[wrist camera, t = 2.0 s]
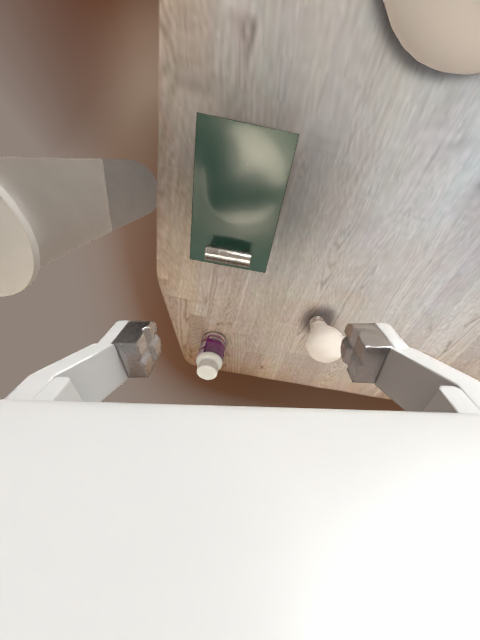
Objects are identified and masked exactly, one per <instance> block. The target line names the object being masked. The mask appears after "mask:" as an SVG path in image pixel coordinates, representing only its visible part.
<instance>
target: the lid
mask: <svg viewBox="0 0 480 640" xmlns="http://www.w3.org/2000/svg"><path fill="white" fill-rule="evenodd" d="M298 137H299V134H296V133H291V132H287V131H282V130H277V129H273V128H268V127H263V126H259V125H254V124H249V123H245V122H240V121H235V120H231V119H226V118H221V117H217V116H212V115H207V114H203V113H198V112H197V120H196V140H195V161H194V182H193V203H192V224H191V245H190V259H192V260H198V261H203V262H209V263H214V264H220V265H225V266H231V267H236V268H242V269H247V270H253V271H258V272H264V273H265V271H266V267H267V263H268V259H269V255H270V251H271V247H272V243H273V239H274V235H275V231H276V227H277V223H278V219H279V215H280V210H281V206H282V202H283V198H284V194H285V190H286V186H287V182H288V178H289V174H290V170H291V166H292V162H293V158H294V154H295V150H296V146H297V142H298Z"/></svg>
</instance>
